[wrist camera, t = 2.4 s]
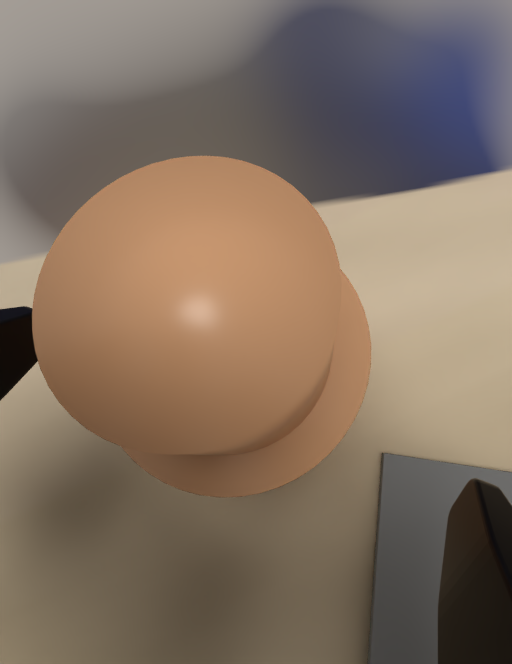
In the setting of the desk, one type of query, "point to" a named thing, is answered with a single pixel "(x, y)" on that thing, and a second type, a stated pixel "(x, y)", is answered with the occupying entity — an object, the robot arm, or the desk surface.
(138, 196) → the peach capped bottle
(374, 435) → the desk surface
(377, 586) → the mat
